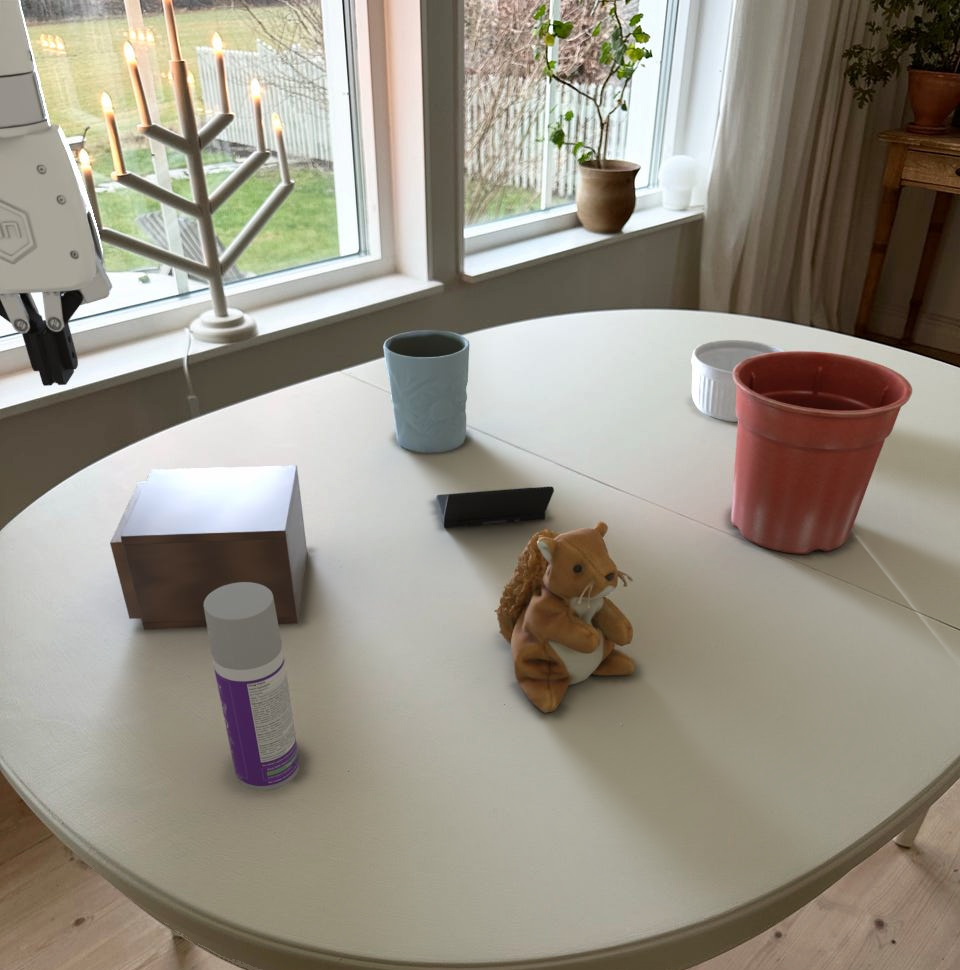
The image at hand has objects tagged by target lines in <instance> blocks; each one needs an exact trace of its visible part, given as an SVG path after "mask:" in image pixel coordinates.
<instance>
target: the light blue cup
mask: <svg viewBox="0 0 960 970" xmlns="http://www.w3.org/2000/svg"><path fill="white" fill-rule="evenodd" d="M382 349H383V355H384V360H385V367H386V373H387V377H388V381H389V390H390V396H391V397H390V398H391V400H390V401H391V404H392V407H393V408H392V411H393V421H394V430H395V437H396V441H397V443H398V445H399V446H400V447H401V448H403V449H405V450H409V451H412V452H416V453H425V454H434V453H435V454H436V453H445V452H449V451H452V450H455V449H457V448H459V447H460V446H462V445H463V444H464V442H465V440H466V437H467V436H466V435H467V413H466V410H467V401H468V393H467V387H468V383H469V363H470V362H469V361H470V341H469V340H468V339H467V338H466V337H464V336H463V335H461V334H459V333H456V332H453V331H447V330H438V329H437V330H436V329H424V330H423V329H422V330H413V331H407V332H406V331H405V332H402V333H397V334H395V335H393V336H390V337H389V338H387V339H386V340H385V341H384V342H383V348H382Z"/></svg>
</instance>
